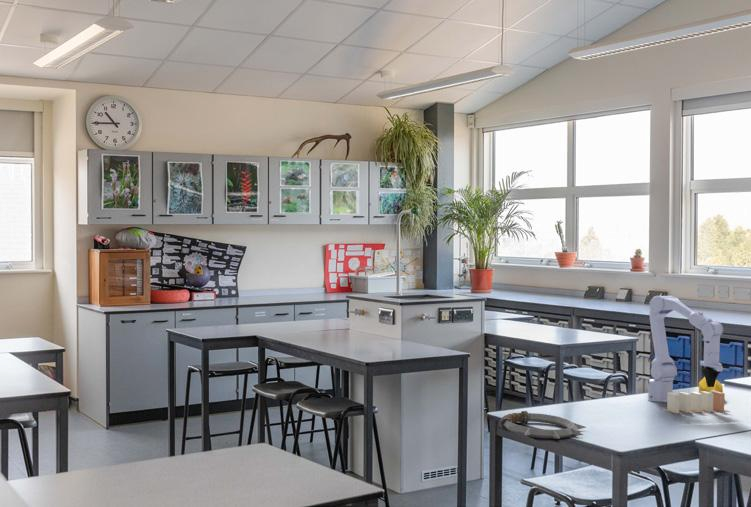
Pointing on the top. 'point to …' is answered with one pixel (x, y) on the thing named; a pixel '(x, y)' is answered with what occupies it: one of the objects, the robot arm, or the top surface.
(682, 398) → the domino
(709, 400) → the domino
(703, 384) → the yellow elongated lump
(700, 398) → the domino
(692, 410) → the domino board
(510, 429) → the spiked ring
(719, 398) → the domino
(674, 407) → the domino
